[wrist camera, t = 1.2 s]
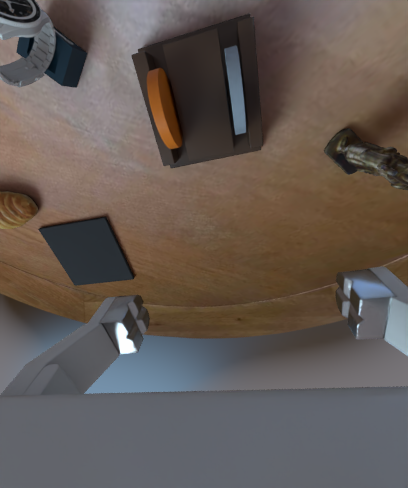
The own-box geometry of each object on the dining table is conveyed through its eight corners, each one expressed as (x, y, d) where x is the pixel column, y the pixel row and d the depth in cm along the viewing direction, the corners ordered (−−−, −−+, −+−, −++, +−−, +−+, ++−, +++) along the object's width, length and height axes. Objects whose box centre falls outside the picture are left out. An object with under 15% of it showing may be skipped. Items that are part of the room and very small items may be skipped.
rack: (140, 50, 28) (127, 43, 24) (249, 16, 25) (252, 2, 22) (172, 167, 35) (165, 173, 31) (260, 148, 32) (263, 154, 29)
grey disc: (225, 56, 26) (223, 39, 20) (235, 53, 26) (237, 35, 19) (234, 131, 30) (236, 138, 23) (243, 129, 30) (247, 136, 23)
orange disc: (160, 75, 28) (138, 65, 21) (170, 72, 28) (150, 61, 21) (178, 144, 32) (163, 154, 25) (186, 142, 32) (174, 152, 25)
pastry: (25, 182, 38) (6, 189, 35) (48, 217, 42) (33, 227, 38) (-17, 194, 40) (-38, 202, 37) (9, 227, 44) (-9, 237, 40)
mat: (40, 227, 43) (38, 229, 42) (106, 216, 40) (104, 217, 40) (76, 283, 50) (74, 285, 49) (134, 277, 47) (133, 279, 47)
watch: (93, 36, 27) (21, -1, 18) (72, 100, 31) (4, 97, 22) (47, -1, 26) (-55, -62, 17) (32, 70, 30) (-59, 54, 20)
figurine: (379, 160, 31) (483, 198, 19) (354, 182, 33) (433, 230, 20) (345, 124, 29) (433, 138, 17) (320, 149, 31) (383, 179, 19)
